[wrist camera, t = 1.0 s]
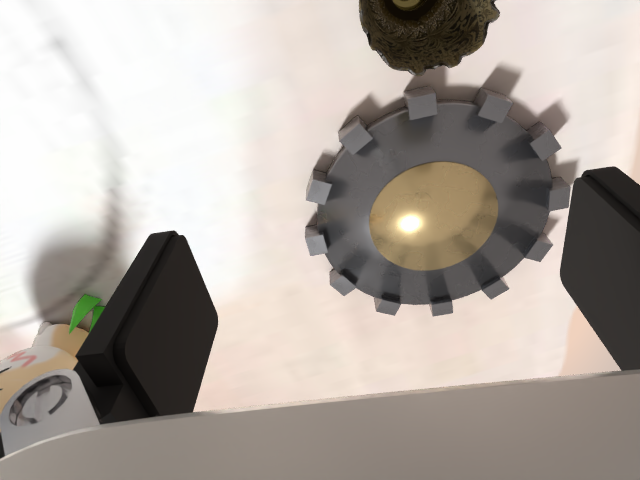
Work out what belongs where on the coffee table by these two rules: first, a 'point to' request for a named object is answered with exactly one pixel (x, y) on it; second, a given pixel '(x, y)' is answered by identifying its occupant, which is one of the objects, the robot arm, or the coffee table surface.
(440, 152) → the gear
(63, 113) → the coffee table surface
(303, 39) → the coffee table surface
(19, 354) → the kitten
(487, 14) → the cup
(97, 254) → the coffee table surface
